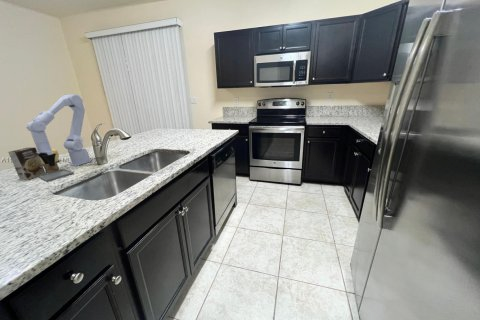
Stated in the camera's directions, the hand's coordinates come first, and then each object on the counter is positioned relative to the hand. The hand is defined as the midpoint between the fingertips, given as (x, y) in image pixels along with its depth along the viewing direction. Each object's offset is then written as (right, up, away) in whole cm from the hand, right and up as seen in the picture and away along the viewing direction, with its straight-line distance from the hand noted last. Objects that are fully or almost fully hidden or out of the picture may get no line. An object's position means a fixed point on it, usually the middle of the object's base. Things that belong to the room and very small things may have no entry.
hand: (50, 164), depth 119 cm
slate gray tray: (+9, -6, -5) cm, 12 cm away
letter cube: (0, -4, +2) cm, 5 cm away
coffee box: (-5, -7, -5) cm, 10 cm away
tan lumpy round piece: (-17, +1, +18) cm, 25 cm away
